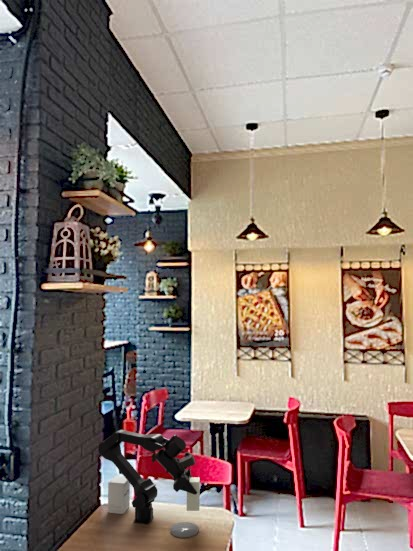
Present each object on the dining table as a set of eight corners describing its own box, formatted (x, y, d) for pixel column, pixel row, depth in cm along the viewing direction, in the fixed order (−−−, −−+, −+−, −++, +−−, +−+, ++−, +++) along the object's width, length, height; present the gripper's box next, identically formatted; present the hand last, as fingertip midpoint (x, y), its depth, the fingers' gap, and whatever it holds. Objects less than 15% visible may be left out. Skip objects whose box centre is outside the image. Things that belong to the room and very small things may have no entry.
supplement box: (123, 514, 189) (123, 483, 190) (107, 512, 190) (107, 482, 191) (130, 506, 196) (130, 477, 197) (114, 505, 197) (114, 475, 198)
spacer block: (186, 510, 177) (186, 482, 177) (187, 505, 182) (187, 477, 182) (199, 510, 177) (199, 482, 177) (199, 505, 182) (199, 477, 182)
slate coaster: (166, 535, 171) (166, 533, 171) (175, 522, 181) (175, 520, 181) (193, 539, 168) (193, 537, 168) (201, 525, 179) (201, 524, 179)
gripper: (182, 455, 171) (210, 485, 171) (185, 441, 190) (211, 468, 189) (161, 476, 171) (190, 506, 170) (166, 460, 190) (192, 487, 189)
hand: (196, 490), depth 180 cm, fingers closed on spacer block, 5 cm apart
